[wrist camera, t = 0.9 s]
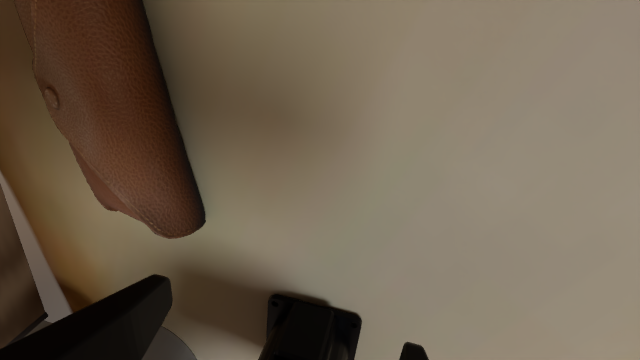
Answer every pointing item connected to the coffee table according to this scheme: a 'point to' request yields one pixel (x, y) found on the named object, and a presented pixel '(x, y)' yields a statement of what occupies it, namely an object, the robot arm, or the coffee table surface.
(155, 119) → the sunglasses case
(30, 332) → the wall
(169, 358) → the coffee mug
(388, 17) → the coffee table surface
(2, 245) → the door
